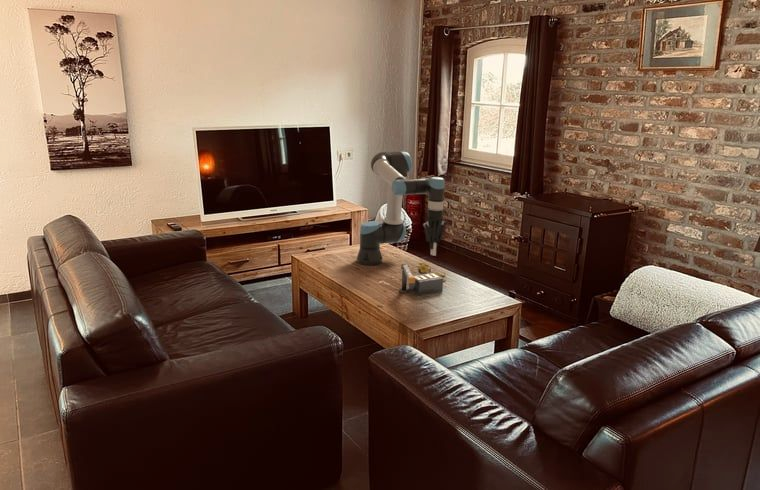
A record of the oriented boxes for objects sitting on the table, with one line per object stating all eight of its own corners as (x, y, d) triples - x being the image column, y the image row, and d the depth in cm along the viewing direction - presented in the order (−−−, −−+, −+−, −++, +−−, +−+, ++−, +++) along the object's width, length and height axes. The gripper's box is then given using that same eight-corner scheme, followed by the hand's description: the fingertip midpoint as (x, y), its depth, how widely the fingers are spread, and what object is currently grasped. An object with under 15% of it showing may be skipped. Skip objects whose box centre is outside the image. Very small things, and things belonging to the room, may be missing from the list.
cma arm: (407, 268, 293) (407, 263, 293) (416, 283, 272) (416, 278, 271) (400, 268, 293) (400, 263, 292) (408, 283, 271) (408, 278, 271)
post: (397, 290, 296) (397, 269, 293) (405, 289, 298) (406, 268, 295) (402, 293, 291) (402, 272, 288) (410, 292, 294) (411, 271, 291)
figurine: (446, 281, 310) (427, 260, 307) (432, 291, 312) (414, 271, 310) (445, 274, 321) (428, 253, 319) (432, 284, 324) (415, 264, 322)
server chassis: (408, 289, 298) (409, 275, 296) (431, 285, 305) (432, 271, 302) (418, 295, 290) (419, 281, 288) (442, 291, 296) (443, 277, 294)
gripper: (442, 206, 293) (439, 251, 300) (420, 208, 288) (418, 254, 294) (450, 209, 287) (448, 255, 294) (428, 211, 281) (426, 258, 288)
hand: (433, 254), depth 294 cm, fingers closed
